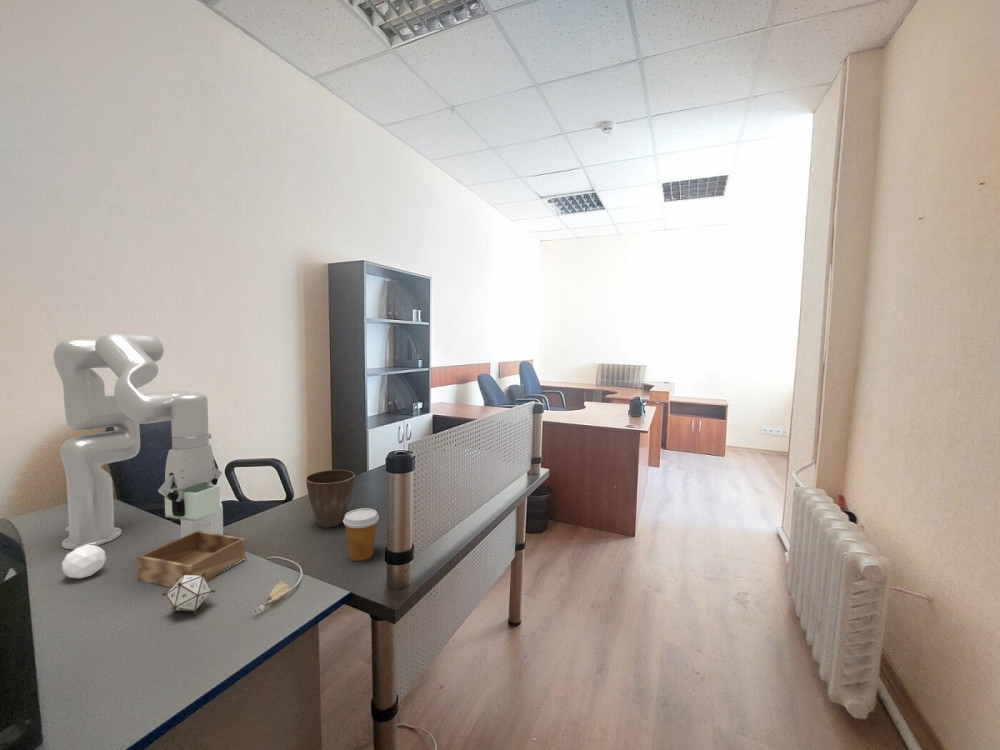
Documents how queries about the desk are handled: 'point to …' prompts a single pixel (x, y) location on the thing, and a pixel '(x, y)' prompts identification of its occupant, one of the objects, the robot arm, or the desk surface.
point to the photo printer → (204, 524)
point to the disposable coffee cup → (361, 532)
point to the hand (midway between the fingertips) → (193, 509)
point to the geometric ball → (83, 561)
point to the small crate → (197, 502)
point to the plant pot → (330, 495)
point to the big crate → (190, 558)
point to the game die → (189, 592)
